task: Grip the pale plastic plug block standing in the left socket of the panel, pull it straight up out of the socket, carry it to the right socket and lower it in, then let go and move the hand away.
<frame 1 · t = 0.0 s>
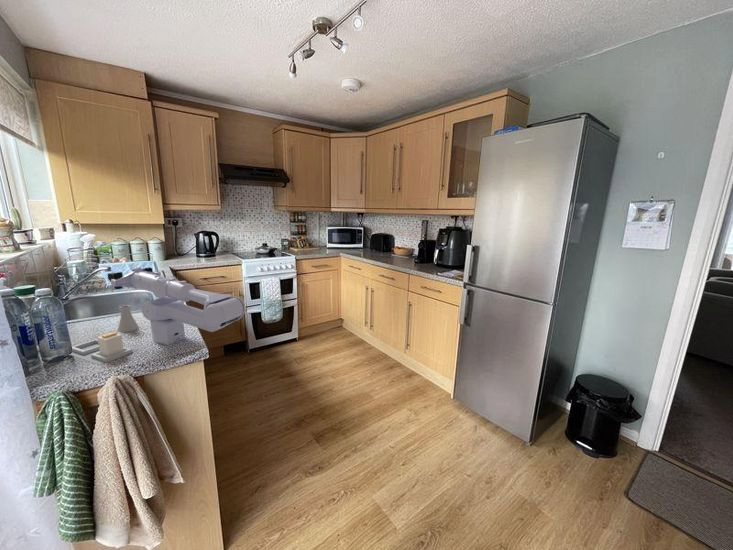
hand: (121, 274, 106), 22 cm above the countertop, tool horizontal, fingers open, 7 cm apart
panel: (102, 355, 93), on the countertop
flask: (128, 333, 111), on the countertop
plug: (112, 354, 91), point 1 cm above the countertop, touching panel
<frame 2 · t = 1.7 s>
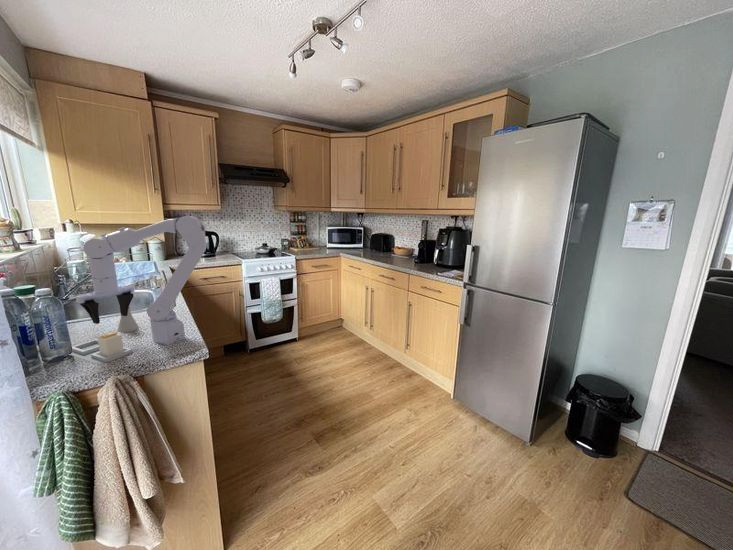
hand: (110, 319, 96), 10 cm above the countertop, tool pointing down, fingers open, 7 cm apart
nothing on the countertop moved.
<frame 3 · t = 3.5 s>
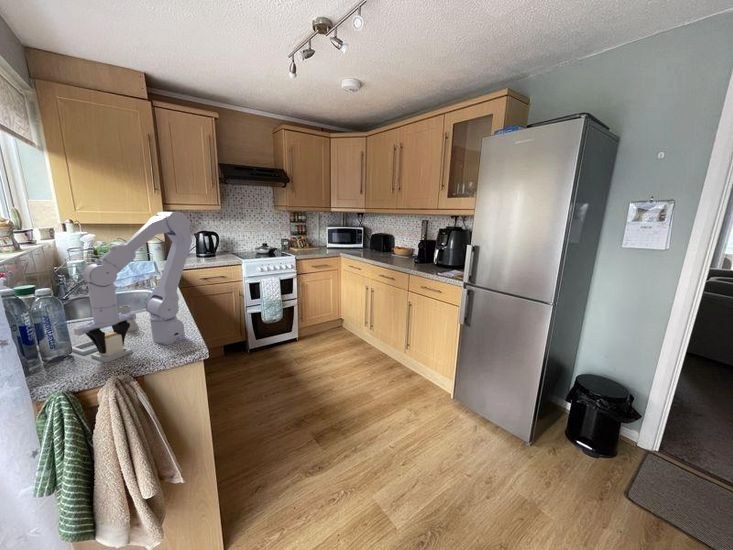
hand: (111, 349, 90), 3 cm above the countertop, tool pointing down, fingers closed on plug, 4 cm apart
plug: (112, 354, 91), point 1 cm above the countertop, touching gripper, panel
everything else where it was.
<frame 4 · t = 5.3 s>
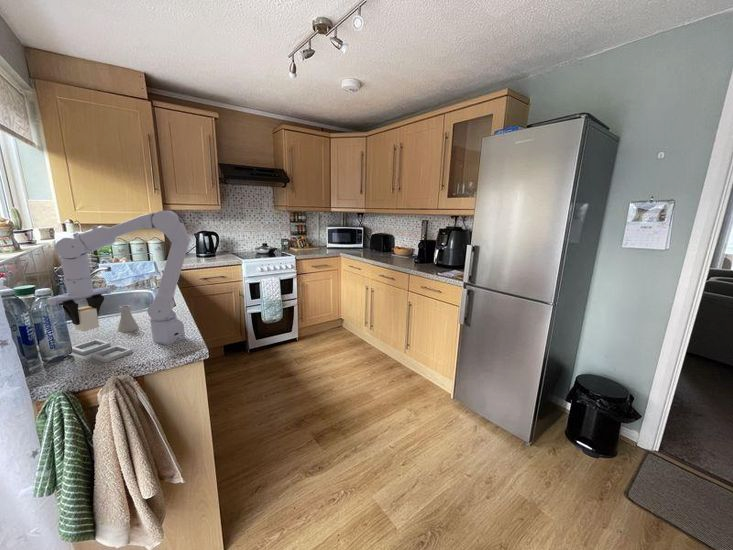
hand: (85, 321, 93), 10 cm above the countertop, tool pointing down, fingers closed on plug, 4 cm apart
plug: (87, 328, 93), point 8 cm above the countertop, touching gripper
everything else where it was.
when the fingers open (4 cm above the countertop, at t = 6.9 s): plug stays where it is, resting on panel.
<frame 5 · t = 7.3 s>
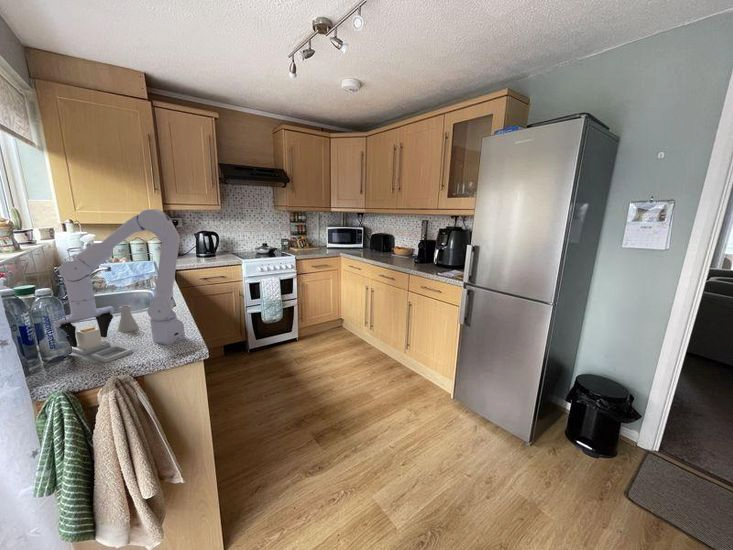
hand: (89, 341, 94), 4 cm above the countertop, tool pointing down, fingers open, 7 cm apart
plug: (91, 348, 95), point 1 cm above the countertop, touching panel
everything else where it was.
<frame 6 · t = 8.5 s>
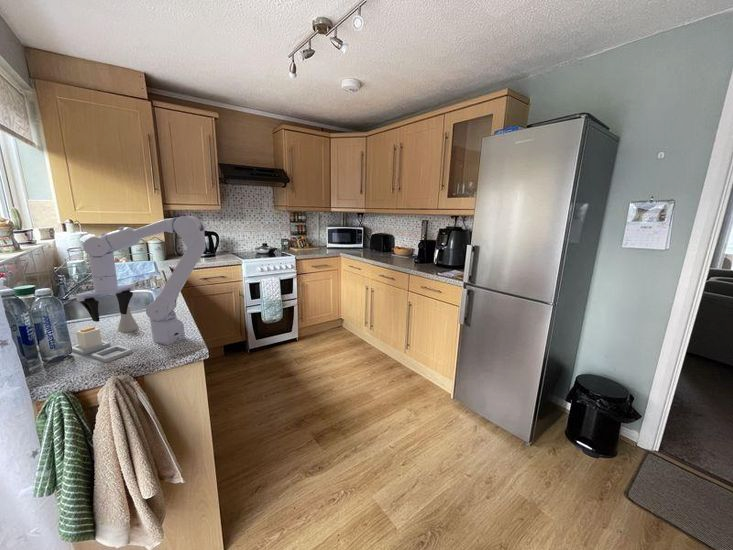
hand: (110, 317, 97), 10 cm above the countertop, tool pointing down, fingers open, 7 cm apart
nothing on the countertop moved.
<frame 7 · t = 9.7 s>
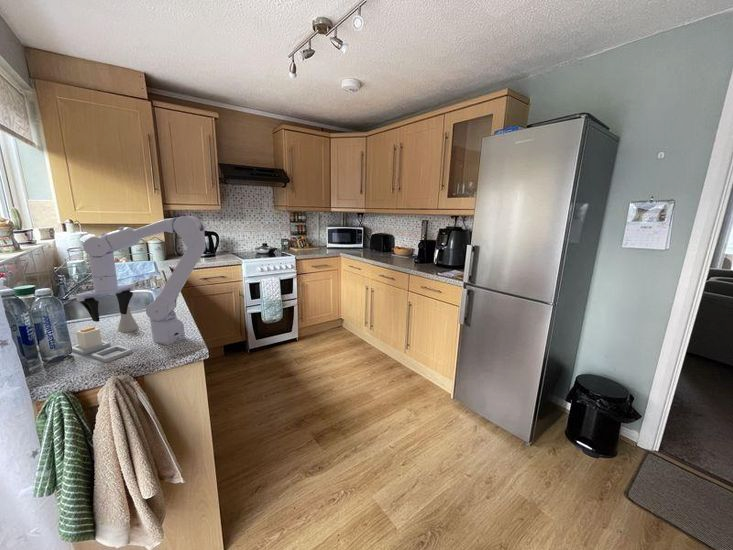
hand: (110, 317, 97), 10 cm above the countertop, tool pointing down, fingers open, 7 cm apart
nothing on the countertop moved.
at the end: plug 0.3 cm from the target spot on the panel, point 1.5 cm above the panel's base; plug tilted 0°; the gripper is holding nothing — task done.
